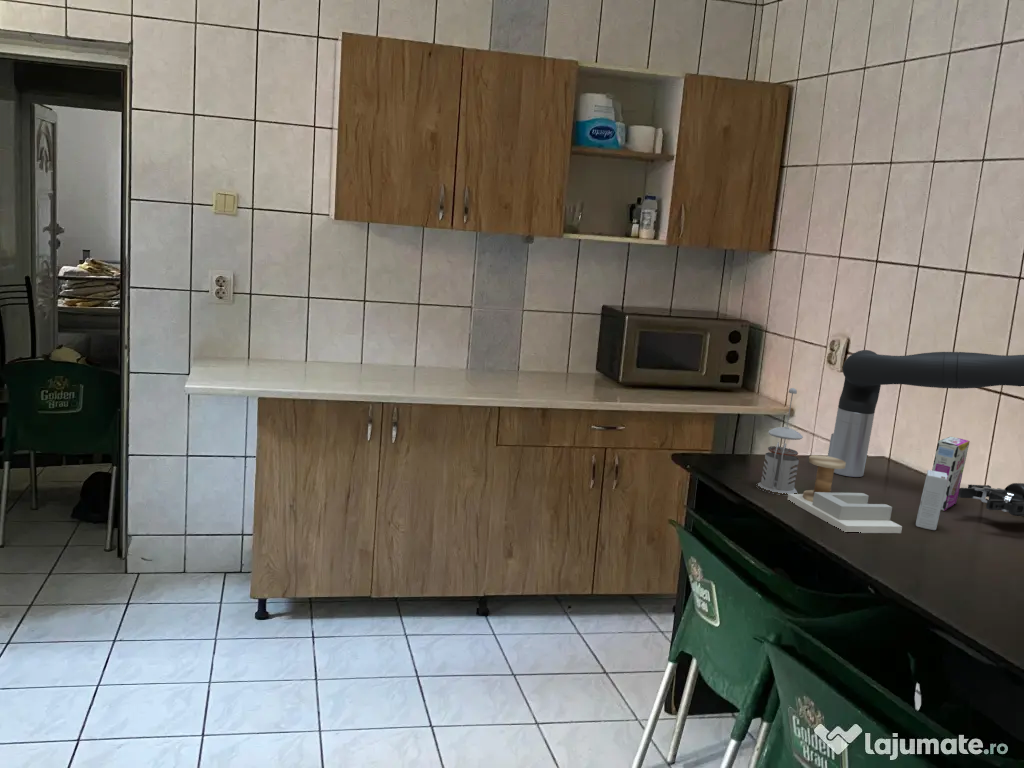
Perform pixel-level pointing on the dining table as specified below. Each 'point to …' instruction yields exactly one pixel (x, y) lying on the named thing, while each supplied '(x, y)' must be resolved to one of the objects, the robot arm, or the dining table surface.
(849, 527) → the notched board
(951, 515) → the dining table surface
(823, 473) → the bobbin
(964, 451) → the candy bar box
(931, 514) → the skincare box
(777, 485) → the french press
